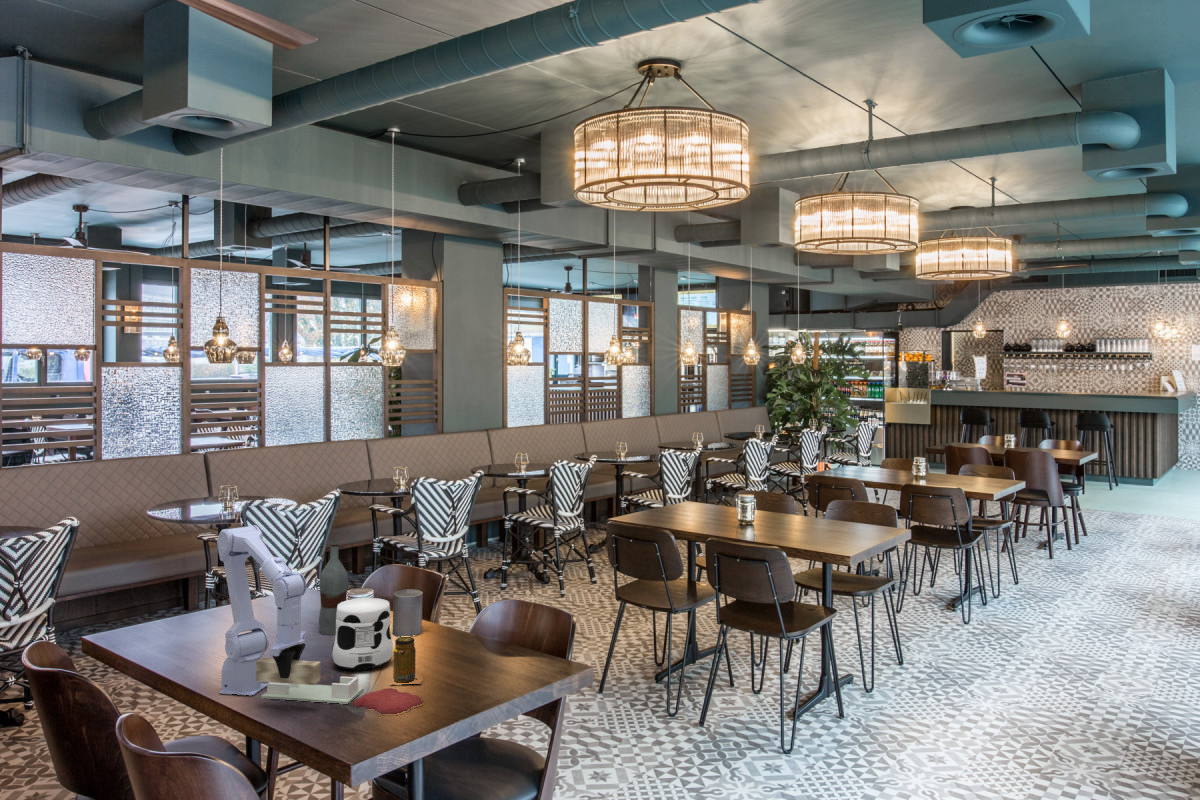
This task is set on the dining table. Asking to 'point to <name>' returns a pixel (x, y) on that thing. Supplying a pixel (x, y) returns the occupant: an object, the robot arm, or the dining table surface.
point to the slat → (298, 673)
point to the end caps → (339, 690)
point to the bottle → (332, 591)
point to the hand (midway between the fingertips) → (288, 675)
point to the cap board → (312, 694)
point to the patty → (388, 701)
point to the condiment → (404, 660)
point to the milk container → (362, 634)
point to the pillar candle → (407, 612)
